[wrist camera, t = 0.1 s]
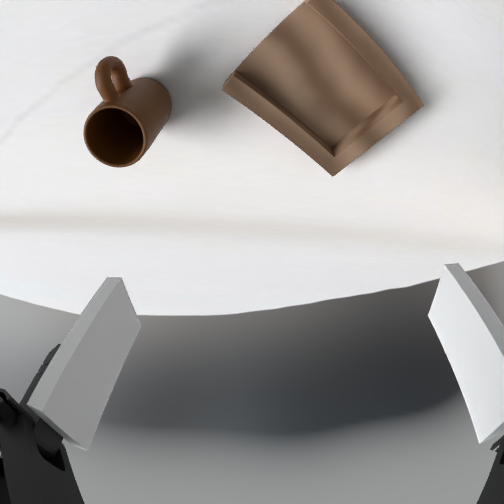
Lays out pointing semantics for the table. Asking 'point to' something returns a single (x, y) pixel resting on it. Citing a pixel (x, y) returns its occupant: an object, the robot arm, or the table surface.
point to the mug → (124, 115)
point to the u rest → (324, 85)
